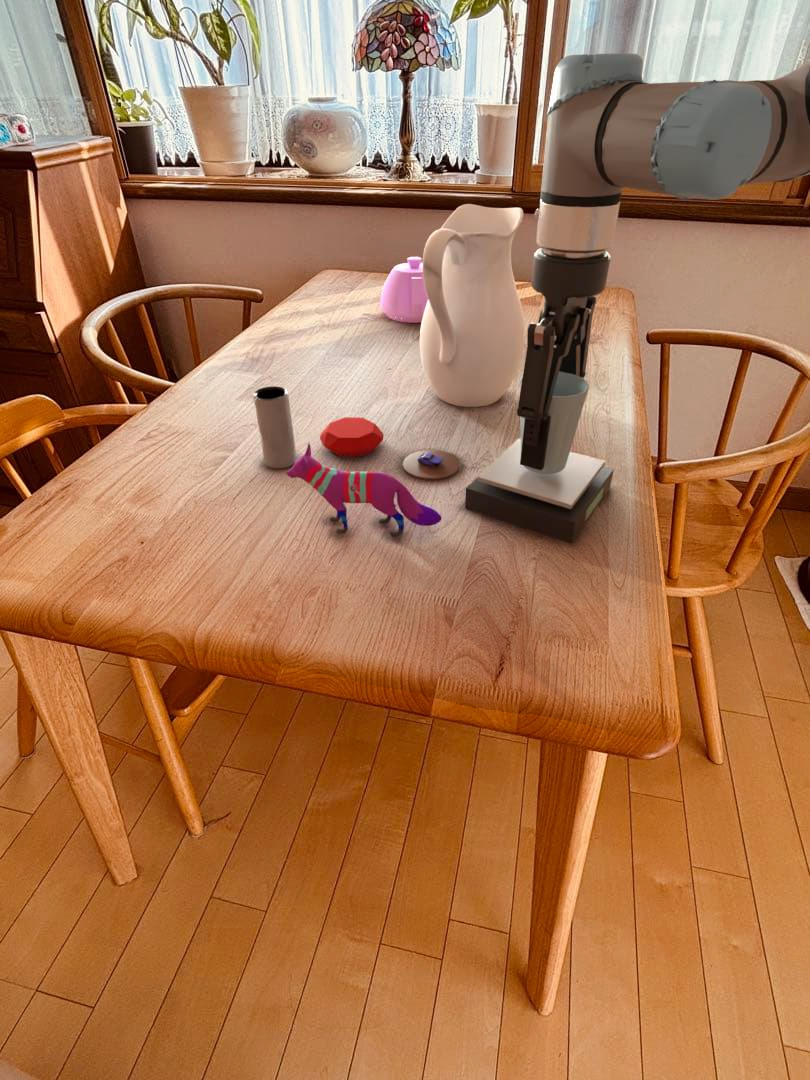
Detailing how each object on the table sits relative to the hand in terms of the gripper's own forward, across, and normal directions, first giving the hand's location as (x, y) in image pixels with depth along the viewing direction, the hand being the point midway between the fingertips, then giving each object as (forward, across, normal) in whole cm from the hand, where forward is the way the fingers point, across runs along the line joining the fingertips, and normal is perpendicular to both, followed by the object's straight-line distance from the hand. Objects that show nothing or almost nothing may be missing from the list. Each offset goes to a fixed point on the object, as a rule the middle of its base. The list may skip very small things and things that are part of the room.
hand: (545, 451), depth 76 cm
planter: (+7, +10, -35) cm, 37 cm away
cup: (+2, 0, 0) cm, 2 cm away
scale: (+7, 0, 0) cm, 7 cm away
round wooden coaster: (+7, 0, -16) cm, 17 cm away
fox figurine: (+7, +17, -15) cm, 24 cm away
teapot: (+7, -58, -55) cm, 80 cm away
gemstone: (+7, +1, -29) cm, 30 cm away
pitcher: (+7, -21, -23) cm, 32 cm away
